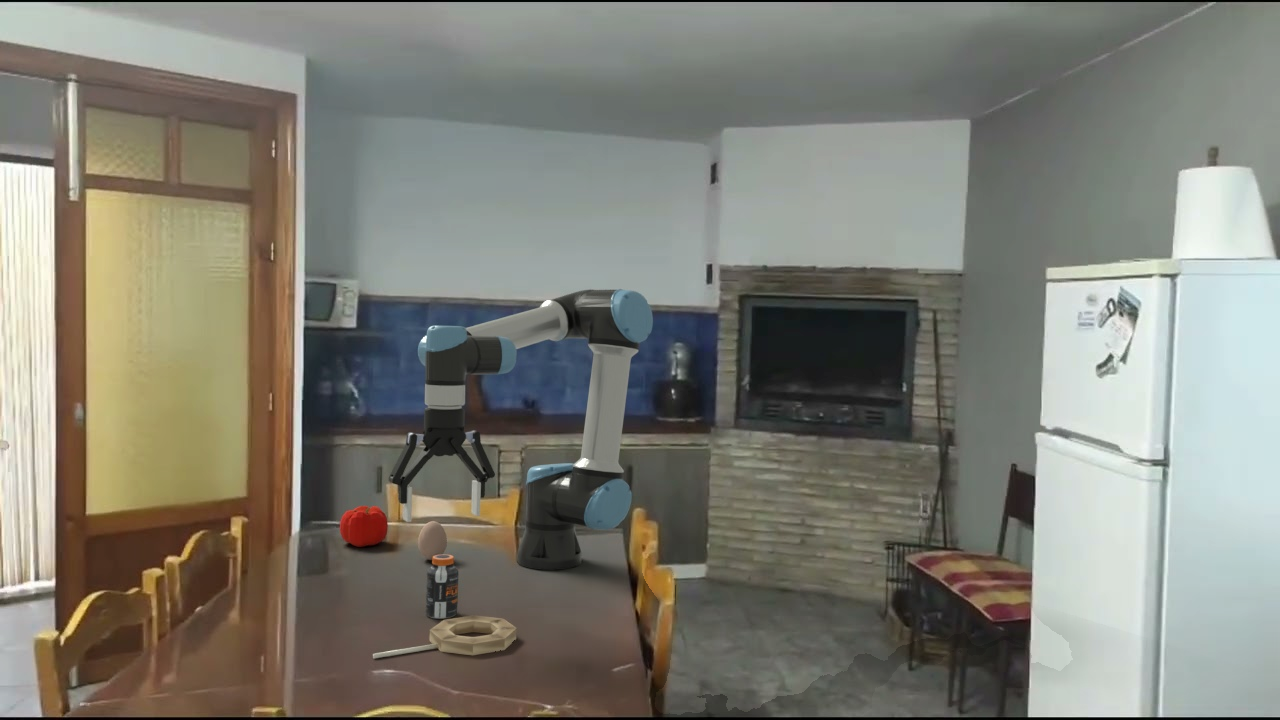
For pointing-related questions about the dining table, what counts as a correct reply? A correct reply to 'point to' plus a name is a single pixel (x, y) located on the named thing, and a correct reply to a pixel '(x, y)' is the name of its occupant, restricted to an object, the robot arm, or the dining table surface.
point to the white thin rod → (405, 651)
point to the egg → (432, 540)
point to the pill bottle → (442, 588)
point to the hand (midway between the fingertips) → (441, 517)
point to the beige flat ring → (452, 643)
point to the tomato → (364, 526)
